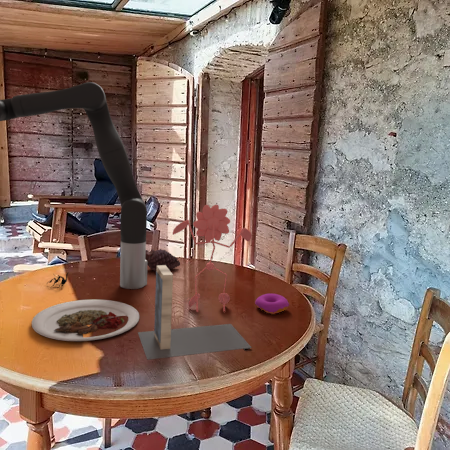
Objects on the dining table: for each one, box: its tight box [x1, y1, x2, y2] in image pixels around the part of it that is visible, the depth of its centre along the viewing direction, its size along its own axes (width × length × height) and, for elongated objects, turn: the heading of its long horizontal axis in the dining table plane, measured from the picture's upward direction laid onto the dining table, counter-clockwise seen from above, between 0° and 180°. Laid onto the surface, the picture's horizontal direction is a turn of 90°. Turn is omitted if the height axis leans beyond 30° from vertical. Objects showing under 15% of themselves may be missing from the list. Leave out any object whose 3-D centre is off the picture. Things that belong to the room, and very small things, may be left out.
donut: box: [254, 293, 290, 313], centre depth 142 cm, size 11×10×5 cm
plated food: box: [31, 299, 140, 342], centre depth 123 cm, size 30×30×3 cm
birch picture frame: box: [153, 265, 174, 350], centre depth 111 cm, size 9×3×20 cm, turn 20°
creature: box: [46, 272, 69, 289], centre depth 153 cm, size 8×5×8 cm
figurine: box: [172, 204, 253, 313], centre depth 140 cm, size 15×26×35 cm, turn 104°
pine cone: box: [146, 248, 181, 272], centre depth 181 cm, size 18×10×10 cm
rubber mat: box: [137, 323, 252, 361], centre depth 115 cm, size 28×16×1 cm, turn 110°
